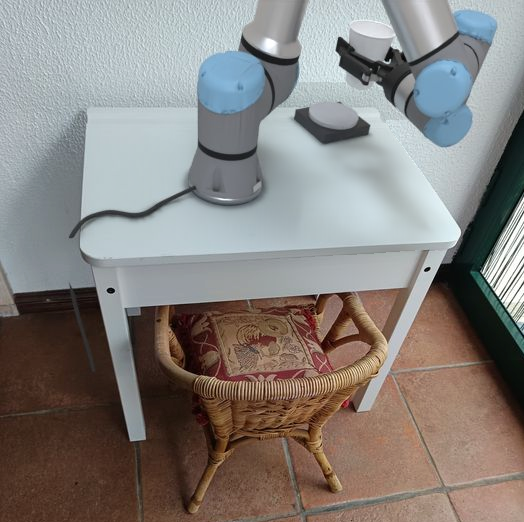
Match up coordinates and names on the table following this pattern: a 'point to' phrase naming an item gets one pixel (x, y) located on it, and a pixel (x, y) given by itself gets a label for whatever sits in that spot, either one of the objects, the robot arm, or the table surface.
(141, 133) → the table surface
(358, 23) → the cup
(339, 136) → the scale
